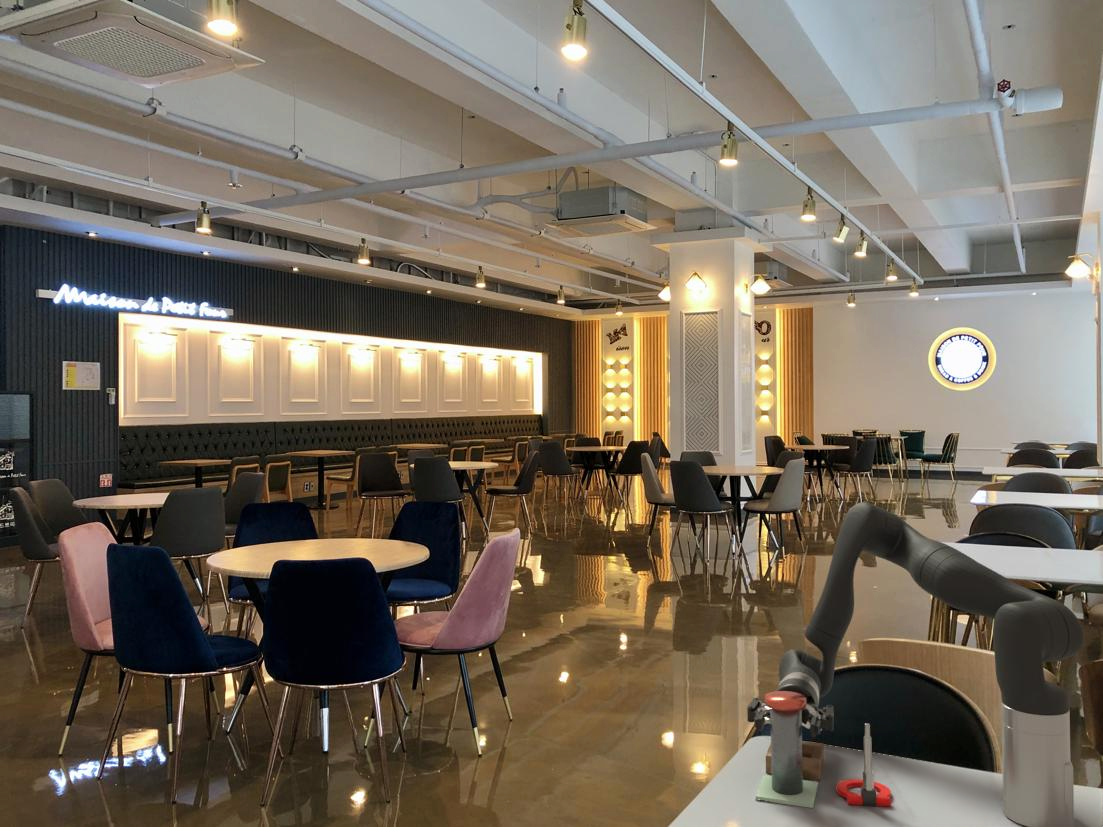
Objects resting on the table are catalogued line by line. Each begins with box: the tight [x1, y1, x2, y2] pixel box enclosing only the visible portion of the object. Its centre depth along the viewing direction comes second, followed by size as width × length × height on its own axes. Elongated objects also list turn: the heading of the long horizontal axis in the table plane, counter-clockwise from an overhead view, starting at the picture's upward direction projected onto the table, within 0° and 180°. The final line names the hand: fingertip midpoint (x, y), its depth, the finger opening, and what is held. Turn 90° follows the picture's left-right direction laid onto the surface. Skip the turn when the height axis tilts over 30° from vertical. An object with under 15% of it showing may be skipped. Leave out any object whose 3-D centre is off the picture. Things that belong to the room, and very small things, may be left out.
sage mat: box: [755, 774, 819, 809], centre depth 148 cm, size 9×9×1 cm
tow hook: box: [836, 722, 892, 807], centre depth 147 cm, size 8×13×9 cm
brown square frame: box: [765, 740, 825, 781], centre depth 159 cm, size 9×9×3 cm
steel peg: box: [764, 690, 806, 795], centre depth 148 cm, size 7×7×15 cm
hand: (785, 728), depth 148 cm, fingers open, 8 cm apart
